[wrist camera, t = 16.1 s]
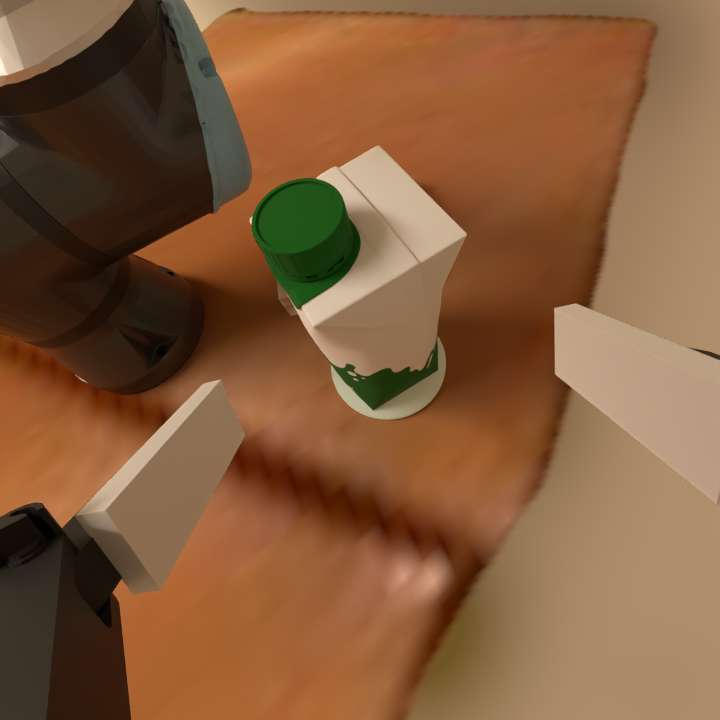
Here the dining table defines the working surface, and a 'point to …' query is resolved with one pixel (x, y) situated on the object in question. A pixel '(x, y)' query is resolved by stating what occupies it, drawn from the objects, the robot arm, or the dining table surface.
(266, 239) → the soya milk
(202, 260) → the dining table surface
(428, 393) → the pale green disc
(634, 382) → the robot arm
